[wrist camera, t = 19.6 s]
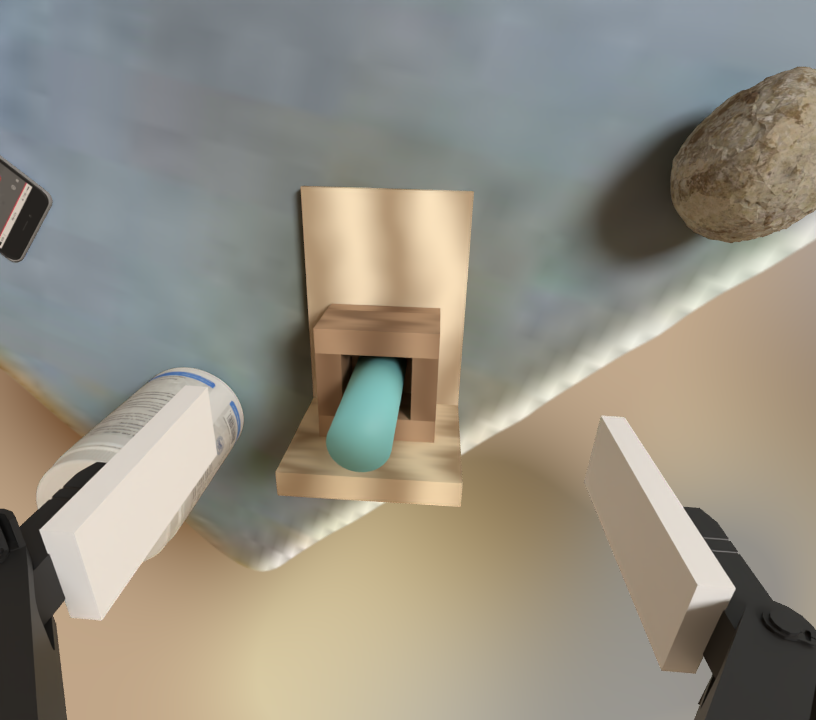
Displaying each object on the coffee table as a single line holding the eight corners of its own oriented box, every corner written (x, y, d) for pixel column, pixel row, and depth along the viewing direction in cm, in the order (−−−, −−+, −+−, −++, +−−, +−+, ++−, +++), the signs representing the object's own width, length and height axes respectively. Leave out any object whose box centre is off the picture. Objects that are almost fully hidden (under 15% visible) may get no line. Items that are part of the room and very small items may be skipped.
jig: (317, 411, 46) (277, 495, 35) (304, 185, 38) (247, 202, 27) (456, 419, 45) (460, 506, 34) (473, 191, 37) (485, 210, 26)
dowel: (358, 339, 40) (324, 413, 29) (407, 342, 39) (392, 418, 29) (358, 383, 41) (327, 469, 30) (405, 386, 41) (390, 474, 30)
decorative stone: (688, 253, 38) (765, 287, 29) (623, 170, 36) (685, 178, 27) (817, 153, 35) (951, 156, 26) (755, 55, 33) (876, 19, 23)
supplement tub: (129, 403, 47) (3, 507, 33) (188, 343, 44) (75, 430, 30) (207, 468, 49) (120, 588, 36) (268, 415, 46) (197, 525, 33)
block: (335, 400, 44) (319, 436, 38) (331, 303, 40) (313, 328, 35) (435, 405, 43) (434, 442, 38) (440, 308, 40) (440, 334, 34)
